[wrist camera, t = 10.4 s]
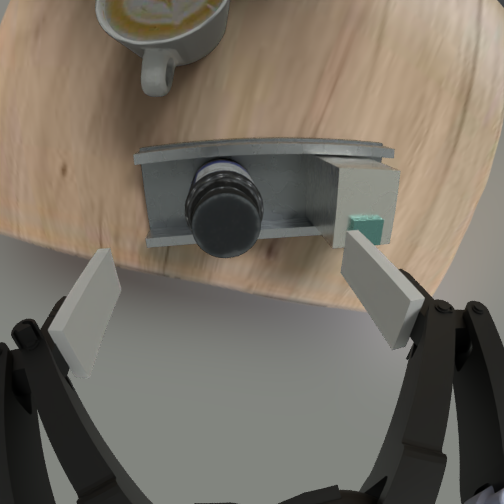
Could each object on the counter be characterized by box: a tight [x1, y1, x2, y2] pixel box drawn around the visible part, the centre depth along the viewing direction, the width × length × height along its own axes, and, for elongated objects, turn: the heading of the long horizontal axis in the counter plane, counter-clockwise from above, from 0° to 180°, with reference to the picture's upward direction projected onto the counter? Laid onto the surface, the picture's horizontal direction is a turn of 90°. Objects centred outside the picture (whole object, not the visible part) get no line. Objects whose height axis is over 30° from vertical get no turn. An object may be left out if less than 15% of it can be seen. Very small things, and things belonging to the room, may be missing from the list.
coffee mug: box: [95, 0, 230, 97], centre depth 17 cm, size 13×10×10 cm
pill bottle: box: [185, 158, 264, 258], centre depth 24 cm, size 6×6×11 cm
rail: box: [133, 138, 400, 248], centre depth 26 cm, size 10×26×10 cm, turn 91°
